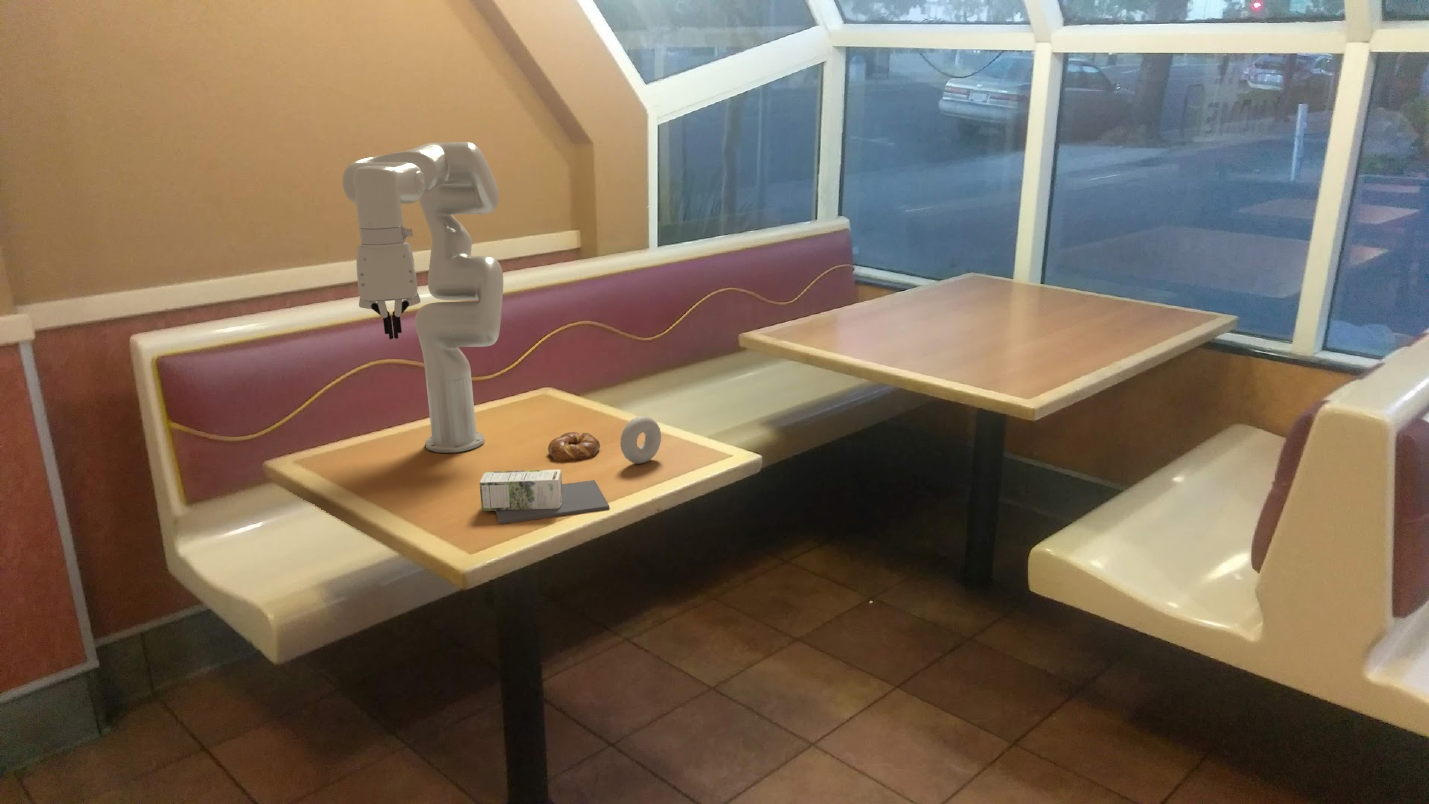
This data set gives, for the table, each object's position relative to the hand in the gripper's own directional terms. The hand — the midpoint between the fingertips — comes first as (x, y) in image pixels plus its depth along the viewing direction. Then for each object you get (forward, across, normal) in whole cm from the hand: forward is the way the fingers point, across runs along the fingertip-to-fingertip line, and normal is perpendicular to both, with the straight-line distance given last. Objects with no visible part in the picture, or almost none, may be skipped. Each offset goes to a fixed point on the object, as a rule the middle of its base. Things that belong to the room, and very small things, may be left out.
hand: (393, 337), depth 185 cm
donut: (+31, -46, -2) cm, 56 cm away
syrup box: (+28, -12, +12) cm, 33 cm away
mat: (+31, -24, +13) cm, 42 cm away
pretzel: (+32, -34, -13) cm, 48 cm away
